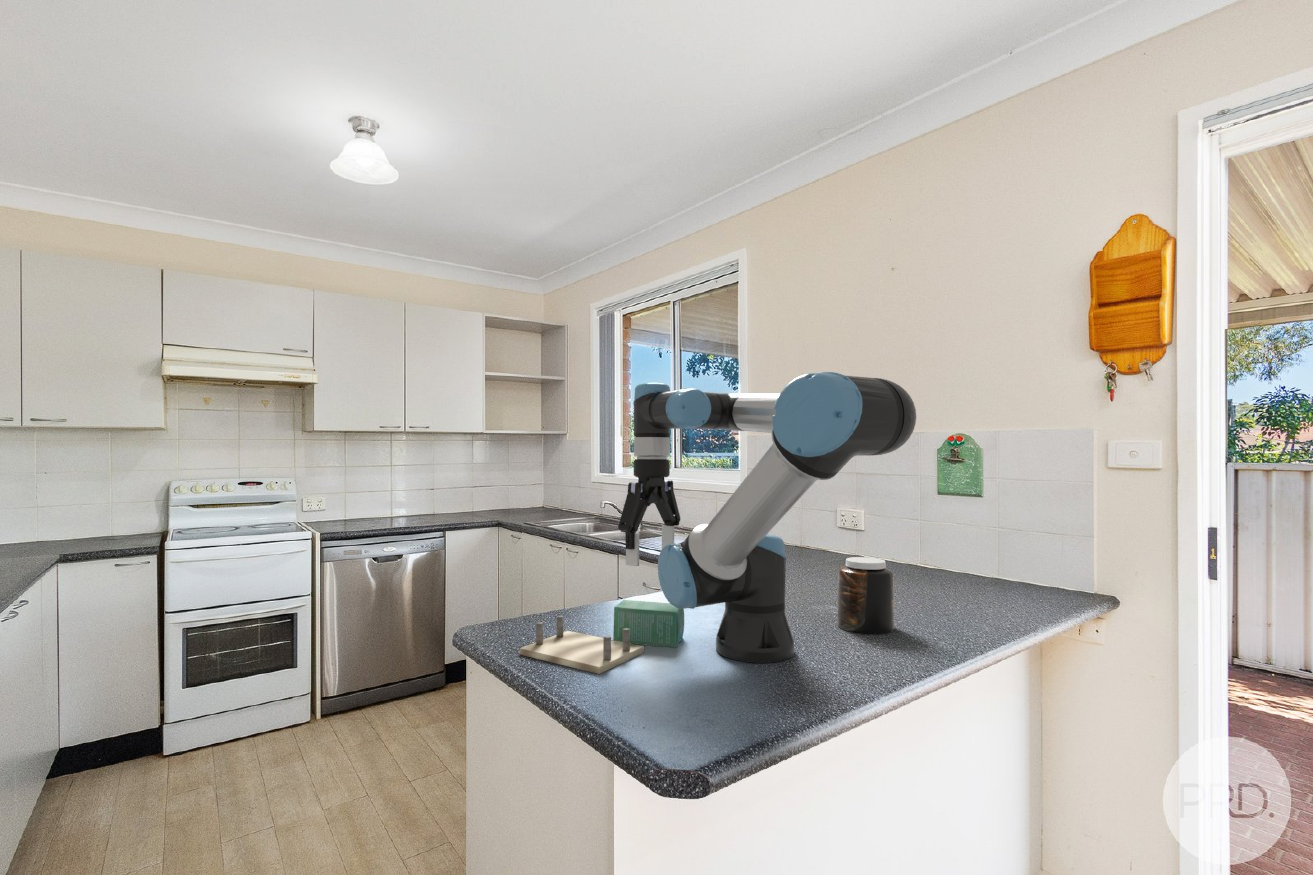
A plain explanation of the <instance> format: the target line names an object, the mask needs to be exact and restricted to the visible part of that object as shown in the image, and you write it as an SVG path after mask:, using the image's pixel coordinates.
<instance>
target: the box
mask: <svg viewBox="0 0 1313 875" xmlns="http://www.w3.org/2000/svg"><path fill="white" fill-rule="evenodd" d="M624 628H628V629H630V644H635V645H640V646H643V645H645V646H655V647H662V648H665V647H666V648H677V647H678V645H679V644H680V642H681V641H682V639H683V636H684V632H685V609H679V608H676V607H675V606H673V605H671V604H670V603H669V602H658V601H657V602H656V601H645V600H644V601H642V600H628V599H627V600H626V599H622V600H621V601H620V602H619V603H618V604H616V605H615V606H614V607H613V637H612V640H615V641H620V642H623V629H624Z"/></svg>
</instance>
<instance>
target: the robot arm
mask: <svg viewBox="0 0 1313 875" xmlns="http://www.w3.org/2000/svg"><path fill="white" fill-rule="evenodd" d="M632 404H633V437H634V439H633V441H634V442H633V455H634V457H636V459H634V460H633V476H634V477H635V478H637V479H638V480H637V482H635V481H633V482H630V481H629V482H628V485H627V494H626V498H625V500H624V504H623V507H622V512H621V515H620V519H619V523H618V527H617V529H618V530H619V531H620V532H621V533H625V545H624V546H625V566H630V567H639V566H640V532H637V531H638V529H639V527H640V525H641V523H642V520H643V518H644V516H645V513H646V512H647V509H648V507H650V506H651V505H652V504H654V505H655V507H656V509H657V511H658V513H659V515H660V518H661V519H662V522H663V525H661V549H660V553H659V556H658V559H657V577H658V581H659V585H660V588H661V591H662V593H663V595H664V597H665V599H666V600H667V603H670V604H671V605H673V606H675V607H676V608H679V609H684V610H685V609H692V610H693V609H695V608H700V607H705V606H707V607H708V606H712V605H718V604H724V613H723V615H722V619H721V622H720V624H719V627H718V631H717V633H716V638H715V650H716V652H717V653H718V654H720V655H721V656H723V657H725V658H727V659H732V660H734V661H739V662H746V663H759V664H760V663H761V664H762V663H765V664H766V663H776V662H782V661H785V660H788V659H790V658H792V657H793V656H794V655H795V640H794V636H793V634H792V631H791V627H790V624H789V621H788V617H787V615H786V569H787V568H786V567H787V566H786V564H787V562H786V561H787V556H786V547H785V546H786V544H785V542H784V539H783V538H781V536H778V535H773V534H769V532H771V530H772V529H773V528H775V526H776V525H778V523H779V521H781V520H782V518H784V516H785V515H786V514H787V513H788V512H789V511H790V510H791V509H792V507H794V505H796V503H797V502H798V501H799V500H800V499H801V498H802V497H803V496H804V495H805V494H806V493H807V492H808V490H809V489H810V488H811V487H812V486H813V485H814V484H815V483H816V482H817V480H819V481H827V480H831V479H833V478H834V477H835V476H836V475H837V474H838V473H839V472H840V471H841V470H842V469H843V468H844V467H845V466H846V465H847V464H848V463H849V462H850V460H852V458H855V457H856V456H857V457H858V456H860V457H863V456H866V457H867V456H869V457H871V456H882V455H886V454H889V453H892V452H894V451H897V450H898V449H899V448H901V447H903V446H904V445H905V444H906V443H907V441H909V440H910V438H911V436H912V434H913V432H914V430H915V427H916V422H917V411H916V406H915V403H914V401H913V398H912V396H911V395H910V394H909V393H908V392H907V390H905V389H904V388H903V387H902V386H901V385H899V384H898V383H895V382H894V381H890V380H888V379H884V378H879V377H867V376H854V375H845V374H842V373H839V372H833V371H824V372H823V371H822V372H811V373H805V374H803V375H799V376H798V377H795V378H794V379H793V380H790V382H789V383H787V385H786V386H785V387H784V388H783V389H782V390H781V392H780V393H730V392H714V391H713V392H710V391H702V390H700V389H698V388H681V389H676V390H672V391H671V387H670V385H668V384H667V383H659V382H648V383H645V382H644V383H639V384H637V385H636V386H635V388H634V399H633V403H632ZM673 429H675V430H676V429H680V430H686V429H689V430H717V431H718V430H721V431H722V430H724V431H737V432H754V433H755V432H756V433H768V434H770V435H771V442H772V444H771V446H770V447H769V448H768V449H767V450H766V452H765V453H764V454H763V455H762V457H761V458H760V459H759V460H758V461H757V463H756V464H755V465H754V467H753V468H752V469H751V470H750V472H749V473H748V474H747V476H746V477H745V478H744V479H743V480H742V482H741V483H740V484H739V486H738V487H737V488H736V489H735V490H734V492H733V493H732V494H731V495H730V496H729V498H728V499H727V500H726V502H725V503H724V504H723V506H721V508H720V509H719V510H718V512H716V514H715V515H714V517H713V518H712V519H711V520H710V521H709V523H702V524H699V525H697V526H696V527H694V528H692V531H691V532H690V533H689V534H688V535H687V537H686V538H685V539H684V540H683V541H682V542H680V543H676V542H675V526H676V527H677V526H679V525H680V522H681V516H680V515H681V514H680V510H679V507H678V503H677V499H676V496H675V490H674V481H673V480H671V479H670V480H668V479H665V478H669V477H670V471H671V470H670V468H671V467H670V465H671V464H670V460H669V459H668V457H670V456H671V438H670V437H671V435H670V434H671V433H670V432H671V430H673Z"/></svg>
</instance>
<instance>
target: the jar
mask: <svg viewBox="0 0 1313 875" xmlns="http://www.w3.org/2000/svg"><path fill="white" fill-rule="evenodd" d="M886 565H887V564H886V560H885V559H882V558H877V557H876V558H875V557H867V556H865V557H864V556H854V557H853V556H852V557H847V558H846V559H845V565H843V566H841V567H840V568H838V572H837V573H838V574H837V627H838V628H840V629H841V630H843V631H846V632H850V633H856V634H863V635H886V634H890V633H892V632H893V631H894V630H895V581H894V580H895V578H894V572H893V571H892V569H889V568H887V566H886Z"/></svg>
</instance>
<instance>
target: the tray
mask: <svg viewBox="0 0 1313 875" xmlns="http://www.w3.org/2000/svg"><path fill="white" fill-rule="evenodd" d="M564 626H565V625H564V616H563V615H557V616H556V634H555V635H553V636H550V637H547V638H544V622H536V623H535V642H533V643H530V644H527V645H525V646H523V647H520V648H519V655H521V656H524V657H529V658H533V659H536V660H540V661H541V660H542V661H546V662H548V663H553V664H557V665H562V666H566V667H570V668H574V669H578V670H582V671H585V672H589V673H590V672H591V673H594V674H598V675H601V674H602V673H605V672H607V671H608V670H610V669H612V668H615V667H617V666H619V665H621V664H623V663H625V662H627V661H630V660H631V659H633V658H636V657H637V656H640V655H641V654H643V653H645V652H644V649H645V647H644V646H643V645H640V644H630V629H628V628H624V629H623V642H620V641H615V640H613V639H612V636H611V635H605V636H603V637H600V636H595V635H591V634H584V633H581V632H580V633H579V632H575V631H570V630H566V631H564Z"/></svg>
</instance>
